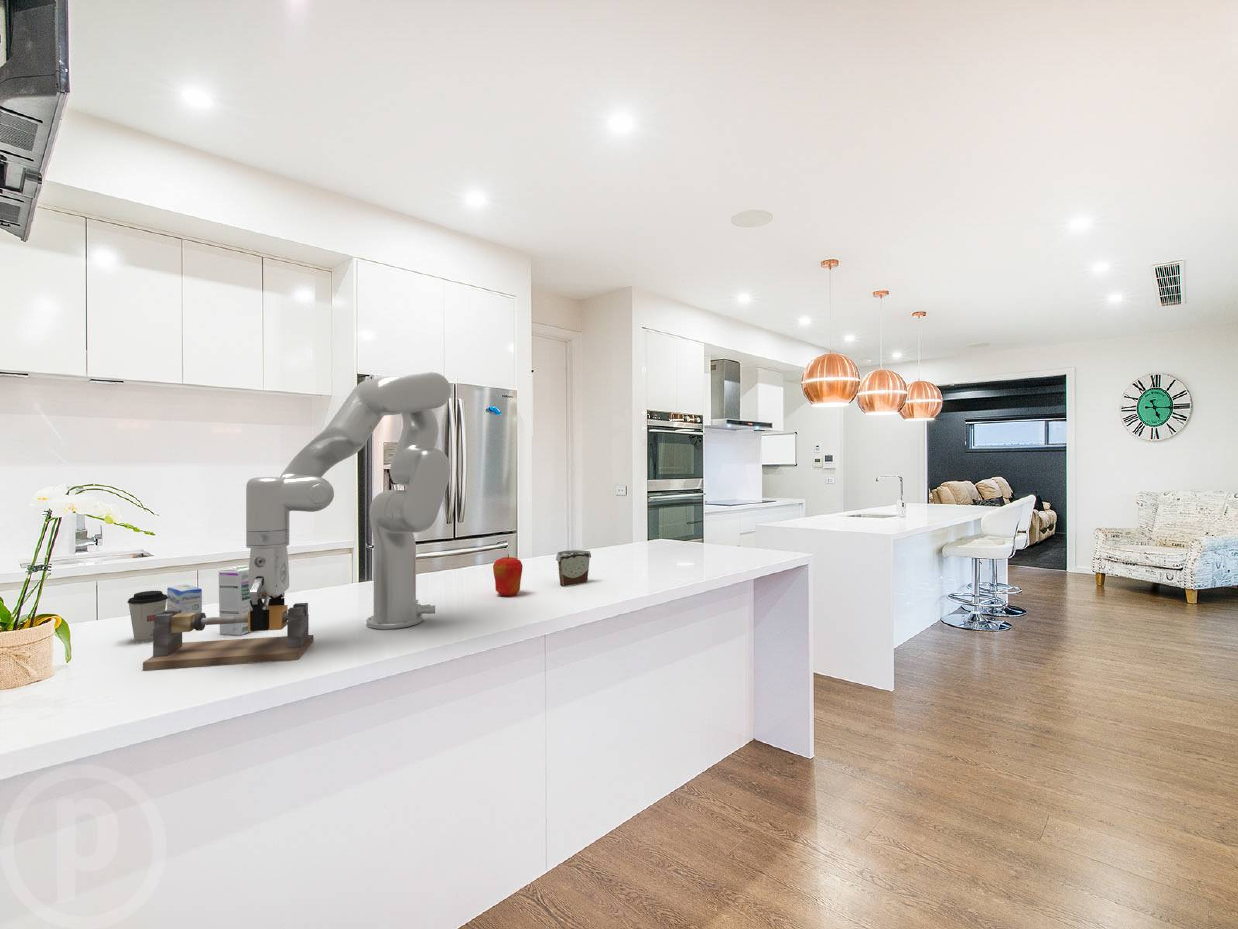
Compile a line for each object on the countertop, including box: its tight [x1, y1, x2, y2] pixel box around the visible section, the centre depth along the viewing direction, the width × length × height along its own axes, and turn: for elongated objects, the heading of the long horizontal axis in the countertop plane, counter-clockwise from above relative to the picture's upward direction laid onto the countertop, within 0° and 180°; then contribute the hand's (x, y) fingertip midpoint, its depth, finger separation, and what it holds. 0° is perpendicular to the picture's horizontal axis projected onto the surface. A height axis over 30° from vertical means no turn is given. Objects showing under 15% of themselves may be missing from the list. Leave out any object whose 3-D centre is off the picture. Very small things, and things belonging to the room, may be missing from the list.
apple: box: [492, 554, 523, 597], centre depth 174 cm, size 9×8×12 cm
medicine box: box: [166, 584, 203, 613], centre depth 142 cm, size 8×4×9 cm, turn 56°
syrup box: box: [218, 565, 251, 636], centre depth 136 cm, size 6×6×14 cm
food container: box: [555, 549, 592, 588], centre depth 190 cm, size 12×6×10 cm, turn 130°
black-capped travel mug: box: [127, 590, 168, 643], centre depth 130 cm, size 7×7×10 cm
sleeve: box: [248, 604, 289, 633], centre depth 121 cm, size 6×4×4 cm, turn 104°
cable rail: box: [142, 602, 315, 671], centre depth 120 cm, size 26×12×9 cm, turn 104°
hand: (268, 623), depth 121 cm, fingers open, 9 cm apart
